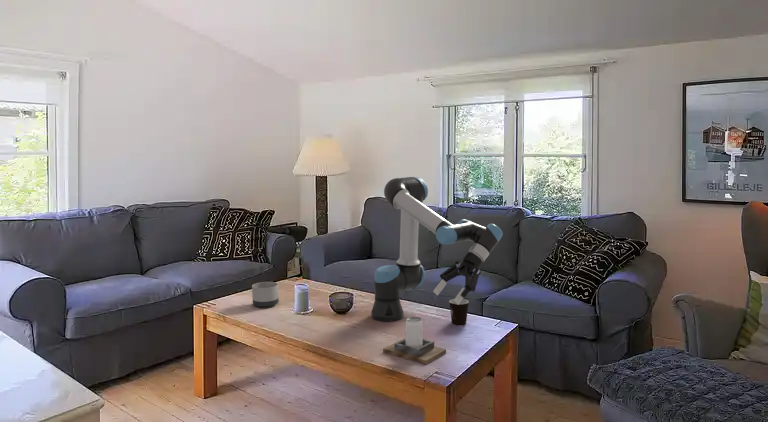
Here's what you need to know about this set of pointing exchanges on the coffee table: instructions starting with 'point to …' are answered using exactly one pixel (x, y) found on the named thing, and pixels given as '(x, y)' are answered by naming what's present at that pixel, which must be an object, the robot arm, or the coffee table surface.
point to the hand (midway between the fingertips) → (445, 298)
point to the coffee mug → (459, 312)
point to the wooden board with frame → (415, 351)
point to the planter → (265, 294)
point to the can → (414, 332)
